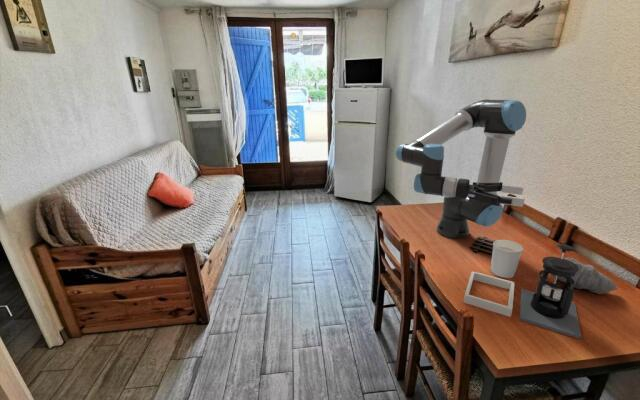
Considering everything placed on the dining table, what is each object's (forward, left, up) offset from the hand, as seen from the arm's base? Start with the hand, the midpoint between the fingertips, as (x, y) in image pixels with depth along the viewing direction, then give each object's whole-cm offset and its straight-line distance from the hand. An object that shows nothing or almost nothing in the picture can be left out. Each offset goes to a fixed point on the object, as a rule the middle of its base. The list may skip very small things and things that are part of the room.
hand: (523, 196), depth 104 cm
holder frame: (-4, -13, -34) cm, 37 cm away
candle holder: (-1, +6, -34) cm, 35 cm away
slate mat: (+13, -13, -34) cm, 39 cm away
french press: (+13, -13, -33) cm, 38 cm away
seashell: (+23, +10, -34) cm, 42 cm away
